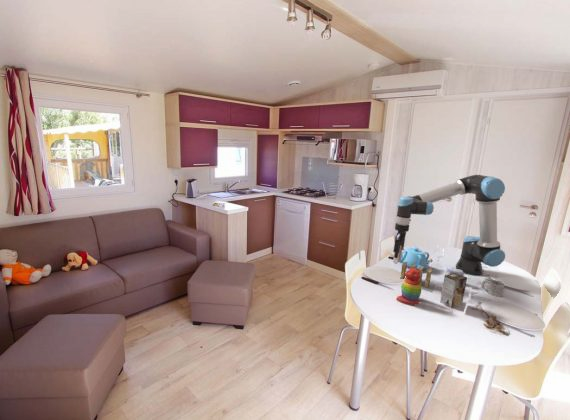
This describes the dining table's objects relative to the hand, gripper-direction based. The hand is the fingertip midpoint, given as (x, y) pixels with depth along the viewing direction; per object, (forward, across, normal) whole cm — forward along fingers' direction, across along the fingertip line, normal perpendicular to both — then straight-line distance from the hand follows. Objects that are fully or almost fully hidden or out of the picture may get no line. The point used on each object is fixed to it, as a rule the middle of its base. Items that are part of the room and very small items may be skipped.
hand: (396, 261), depth 179 cm
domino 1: (+1, 0, 0) cm, 1 cm away
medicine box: (+11, +17, -29) cm, 36 cm away
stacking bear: (+11, -22, -14) cm, 28 cm away
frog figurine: (+12, -20, -51) cm, 56 cm away
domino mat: (+11, 0, -9) cm, 14 cm away
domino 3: (+10, 0, -9) cm, 14 cm away
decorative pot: (+11, +26, -4) cm, 29 cm away
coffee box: (+11, -12, -32) cm, 36 cm away
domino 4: (+10, 0, -14) cm, 17 cm away
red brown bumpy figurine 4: (+10, 0, -5) cm, 11 cm away
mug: (+11, +20, -48) cm, 53 cm away
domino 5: (+10, 0, -18) cm, 21 cm away
